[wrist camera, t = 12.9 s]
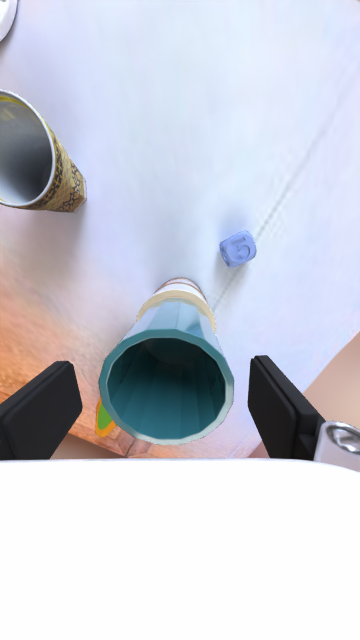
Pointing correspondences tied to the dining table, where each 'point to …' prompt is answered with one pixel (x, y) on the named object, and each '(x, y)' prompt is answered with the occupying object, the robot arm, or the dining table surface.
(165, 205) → the dining table surface
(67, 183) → the ceramic cup
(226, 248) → the decorative dice
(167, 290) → the cup stack
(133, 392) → the teal cup
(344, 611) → the robot arm
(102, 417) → the corn
